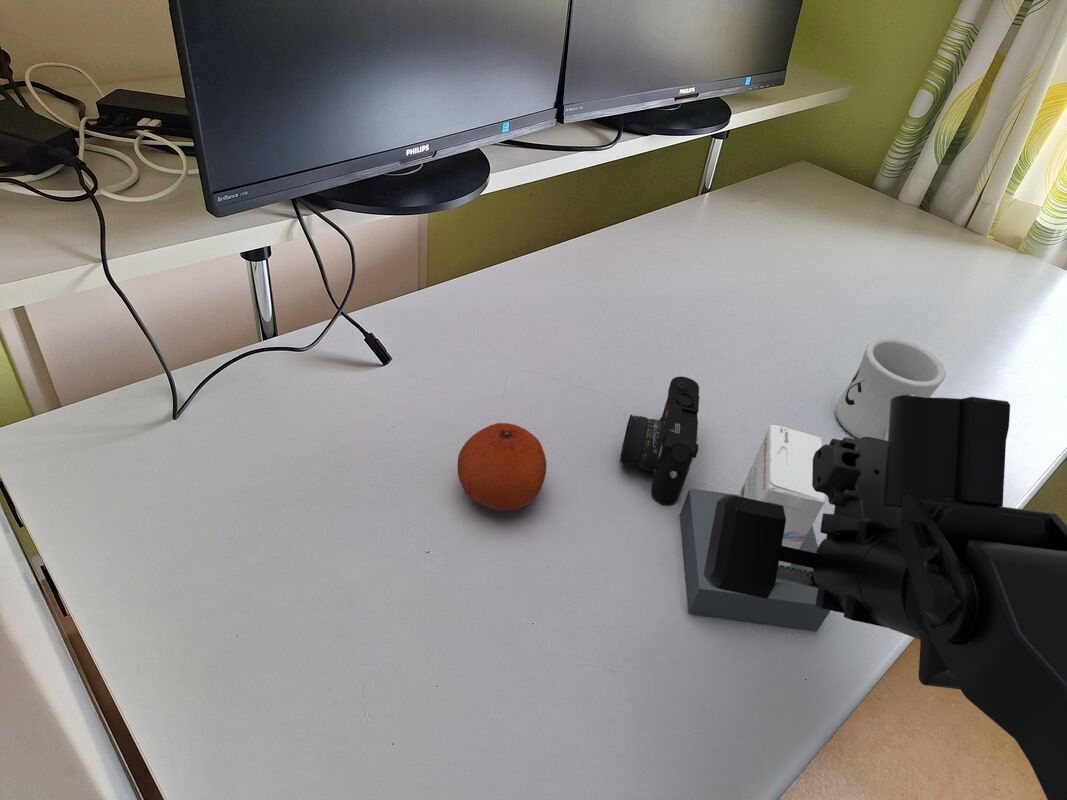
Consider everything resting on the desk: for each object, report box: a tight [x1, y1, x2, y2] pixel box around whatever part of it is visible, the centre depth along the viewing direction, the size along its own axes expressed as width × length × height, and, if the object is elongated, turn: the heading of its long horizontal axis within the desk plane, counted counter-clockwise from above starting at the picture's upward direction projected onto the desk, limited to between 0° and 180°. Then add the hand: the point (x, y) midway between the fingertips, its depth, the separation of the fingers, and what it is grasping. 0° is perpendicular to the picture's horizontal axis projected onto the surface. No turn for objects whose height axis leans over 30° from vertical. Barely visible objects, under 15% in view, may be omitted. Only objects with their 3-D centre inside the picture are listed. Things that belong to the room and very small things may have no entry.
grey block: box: [679, 487, 831, 632], centre depth 73 cm, size 12×12×4 cm
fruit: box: [457, 422, 547, 511], centre depth 75 cm, size 9×9×8 cm
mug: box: [835, 336, 947, 441], centre depth 89 cm, size 12×9×10 cm
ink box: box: [738, 423, 826, 584], centre depth 68 cm, size 8×5×12 cm, turn 167°
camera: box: [619, 376, 700, 506], centre depth 82 cm, size 14×7×8 cm, turn 169°
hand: (800, 556), depth 59 cm, fingers open, 9 cm apart
